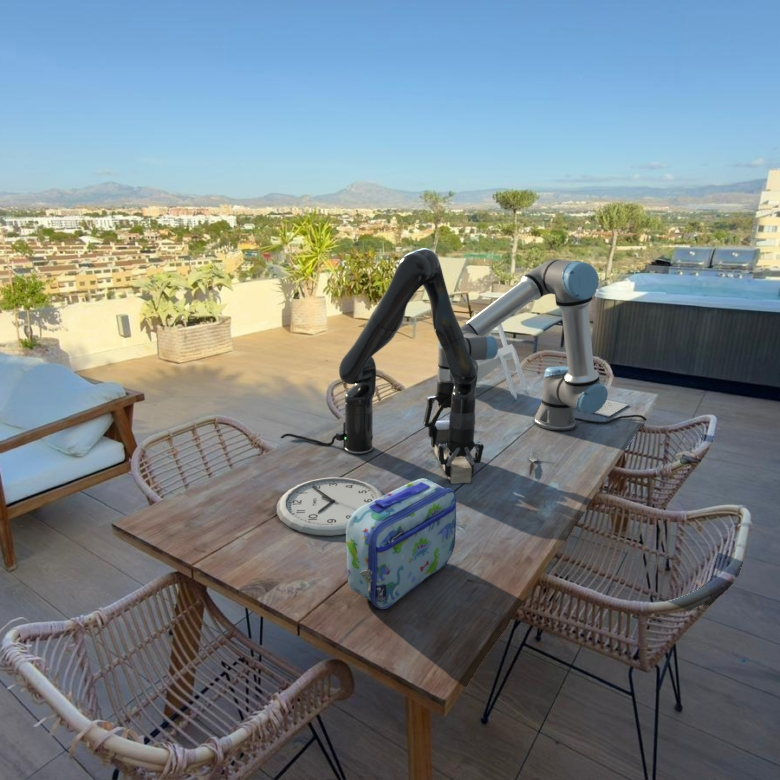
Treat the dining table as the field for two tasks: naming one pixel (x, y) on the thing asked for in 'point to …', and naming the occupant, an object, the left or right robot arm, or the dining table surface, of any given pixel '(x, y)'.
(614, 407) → the invitation card
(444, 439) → the slate block
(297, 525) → the wall clock
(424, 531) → the lunch box
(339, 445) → the dining table surface
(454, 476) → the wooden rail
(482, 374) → the white plastic object
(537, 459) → the fork
